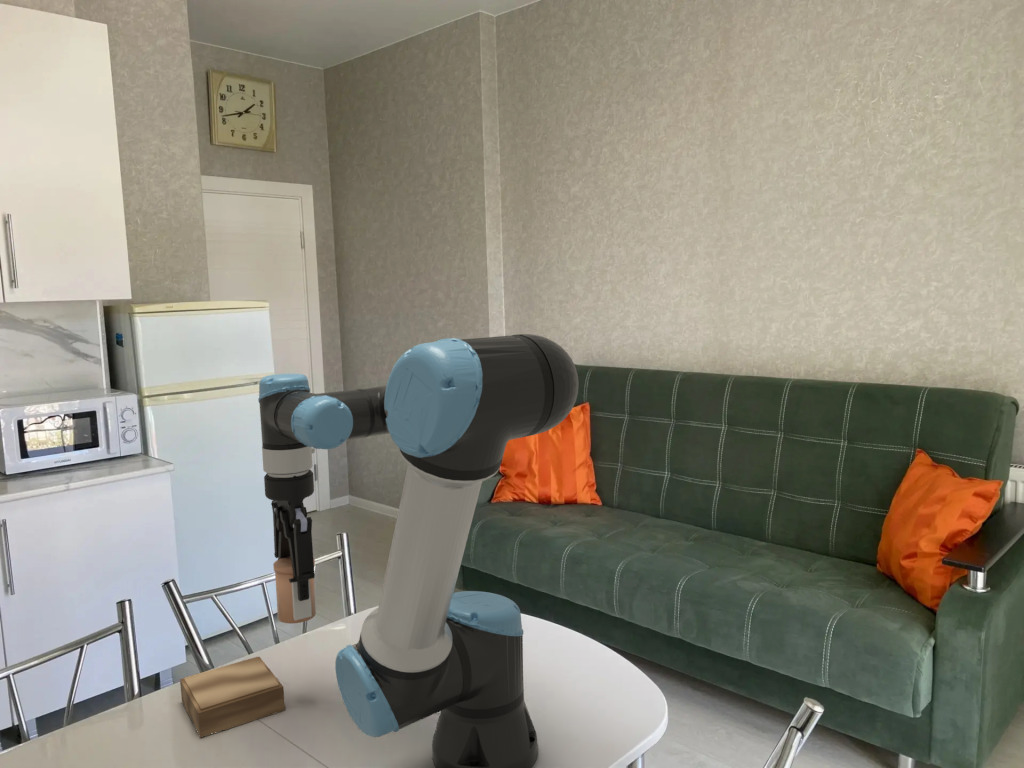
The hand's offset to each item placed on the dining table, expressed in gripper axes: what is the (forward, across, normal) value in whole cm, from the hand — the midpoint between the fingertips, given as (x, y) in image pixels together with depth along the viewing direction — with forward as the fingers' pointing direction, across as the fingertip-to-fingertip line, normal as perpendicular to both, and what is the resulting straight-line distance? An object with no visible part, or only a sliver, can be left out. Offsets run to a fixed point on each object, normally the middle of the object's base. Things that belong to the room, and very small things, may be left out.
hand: (296, 609), depth 126 cm
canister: (+1, 0, 0) cm, 1 cm away
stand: (+16, +4, +10) cm, 19 cm away
